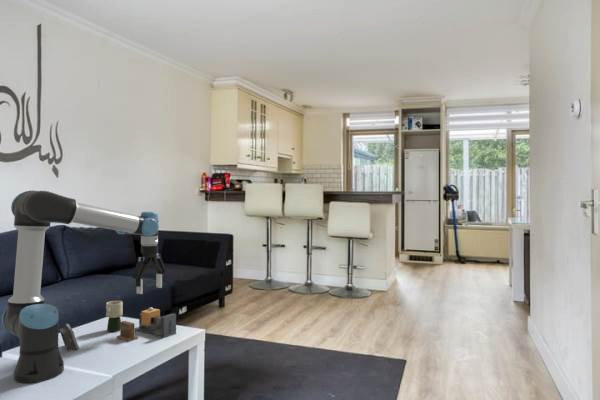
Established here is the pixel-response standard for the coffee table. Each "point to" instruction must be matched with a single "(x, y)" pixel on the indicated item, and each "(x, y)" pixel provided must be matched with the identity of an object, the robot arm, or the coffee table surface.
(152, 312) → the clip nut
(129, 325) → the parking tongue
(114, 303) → the character mug
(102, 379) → the coffee table surface
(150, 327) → the rail
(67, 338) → the electrical switch
